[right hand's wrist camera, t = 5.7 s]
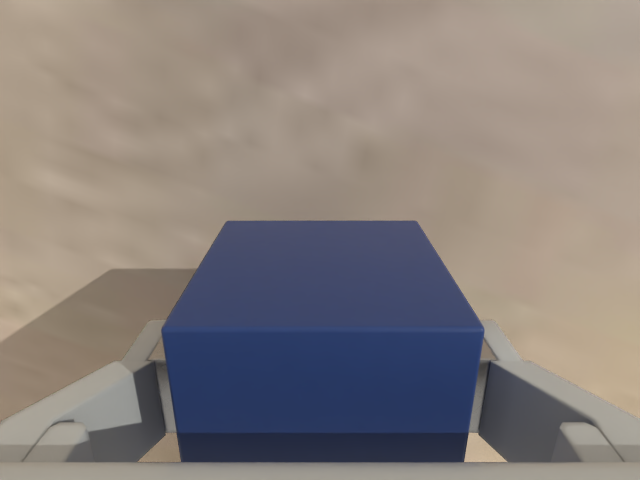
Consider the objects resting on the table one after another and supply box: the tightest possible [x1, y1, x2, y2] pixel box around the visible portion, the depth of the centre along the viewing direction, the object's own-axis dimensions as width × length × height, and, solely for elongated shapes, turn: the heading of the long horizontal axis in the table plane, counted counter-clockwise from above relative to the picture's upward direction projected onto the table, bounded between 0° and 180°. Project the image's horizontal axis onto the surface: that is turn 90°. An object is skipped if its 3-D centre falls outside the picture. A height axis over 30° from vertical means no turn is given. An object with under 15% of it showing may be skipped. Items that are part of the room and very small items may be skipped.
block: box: [161, 221, 485, 462], centre depth 10 cm, size 5×5×5 cm
